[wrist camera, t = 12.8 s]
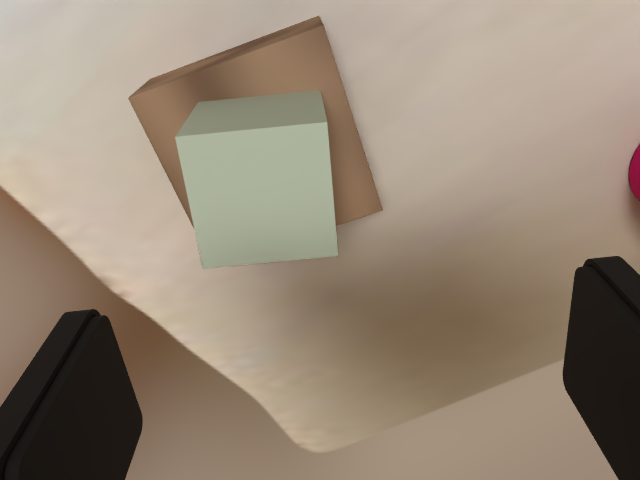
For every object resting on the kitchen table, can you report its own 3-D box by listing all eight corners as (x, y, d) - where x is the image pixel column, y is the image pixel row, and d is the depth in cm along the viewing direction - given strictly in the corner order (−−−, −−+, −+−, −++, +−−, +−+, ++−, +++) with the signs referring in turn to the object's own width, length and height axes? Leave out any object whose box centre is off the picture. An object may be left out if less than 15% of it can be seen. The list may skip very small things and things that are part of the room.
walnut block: (318, 15, 30) (323, 24, 26) (371, 177, 35) (382, 210, 30) (151, 78, 31) (128, 97, 27) (223, 227, 36) (213, 266, 31)
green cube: (320, 90, 27) (327, 121, 22) (330, 202, 30) (338, 256, 25) (198, 102, 27) (174, 136, 22) (219, 213, 30) (202, 269, 25)
